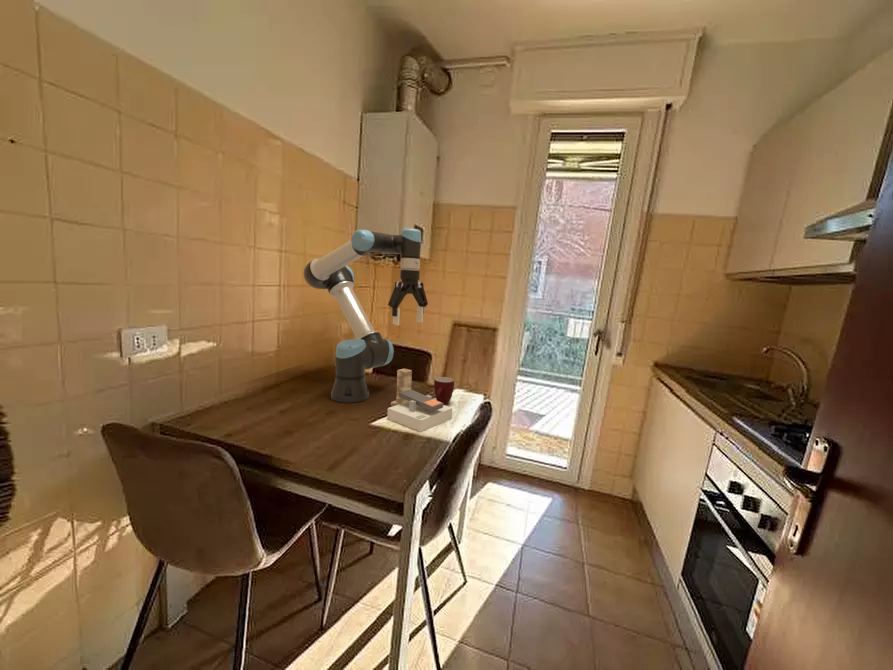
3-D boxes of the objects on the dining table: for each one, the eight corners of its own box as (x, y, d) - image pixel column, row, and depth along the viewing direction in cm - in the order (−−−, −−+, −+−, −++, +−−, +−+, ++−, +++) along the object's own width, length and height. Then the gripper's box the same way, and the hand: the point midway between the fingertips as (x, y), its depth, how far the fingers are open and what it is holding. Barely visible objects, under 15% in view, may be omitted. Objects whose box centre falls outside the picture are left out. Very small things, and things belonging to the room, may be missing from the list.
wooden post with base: (390, 405, 149) (391, 370, 147) (403, 400, 154) (404, 367, 152) (403, 409, 145) (404, 373, 142) (415, 405, 150) (417, 370, 148)
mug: (449, 409, 147) (451, 385, 145) (429, 407, 149) (430, 382, 147) (454, 401, 157) (455, 378, 156) (435, 399, 159) (436, 376, 157)
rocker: (398, 396, 138) (399, 392, 137) (410, 393, 142) (410, 388, 142) (432, 411, 128) (432, 407, 128) (443, 407, 133) (443, 403, 133)
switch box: (387, 418, 134) (387, 398, 133) (419, 407, 148) (420, 388, 147) (420, 431, 125) (421, 410, 124) (451, 418, 138) (453, 398, 137)
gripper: (393, 268, 136) (392, 327, 139) (437, 271, 155) (435, 322, 158) (379, 267, 140) (378, 324, 143) (424, 270, 160) (422, 320, 163)
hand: (408, 323), depth 151 cm, fingers open, 13 cm apart
